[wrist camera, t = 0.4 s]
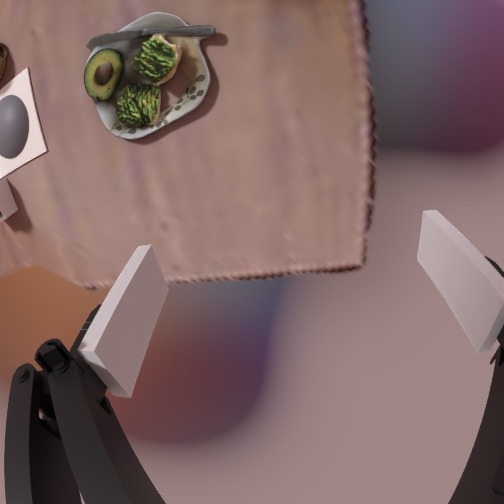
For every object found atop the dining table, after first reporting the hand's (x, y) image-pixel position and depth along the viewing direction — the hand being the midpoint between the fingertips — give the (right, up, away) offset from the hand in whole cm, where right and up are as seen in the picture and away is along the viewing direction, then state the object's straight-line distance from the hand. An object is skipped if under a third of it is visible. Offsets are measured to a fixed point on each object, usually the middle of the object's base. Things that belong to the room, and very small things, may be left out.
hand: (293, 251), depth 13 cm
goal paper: (-45, +22, +20) cm, 54 cm away
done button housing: (-51, +11, +27) cm, 59 cm away
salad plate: (-17, +24, +19) cm, 35 cm away
